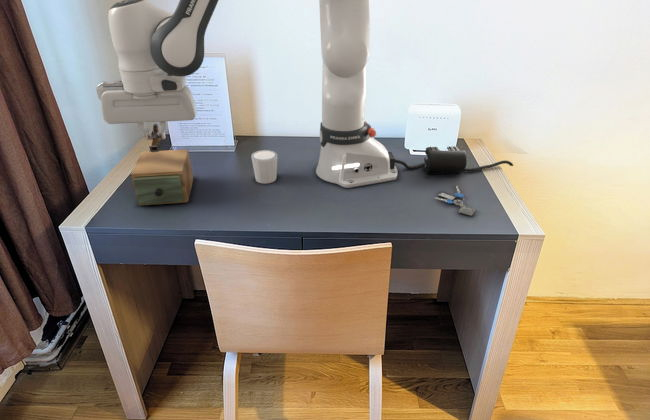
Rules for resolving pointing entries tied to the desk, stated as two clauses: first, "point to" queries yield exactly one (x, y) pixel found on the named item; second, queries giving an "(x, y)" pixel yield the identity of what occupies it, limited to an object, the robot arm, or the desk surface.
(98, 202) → the desk surface
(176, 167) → the cabinet
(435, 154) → the black cylinder
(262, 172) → the white cup
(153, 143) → the wooden post with brackets
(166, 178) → the drawer
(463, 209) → the key chain
